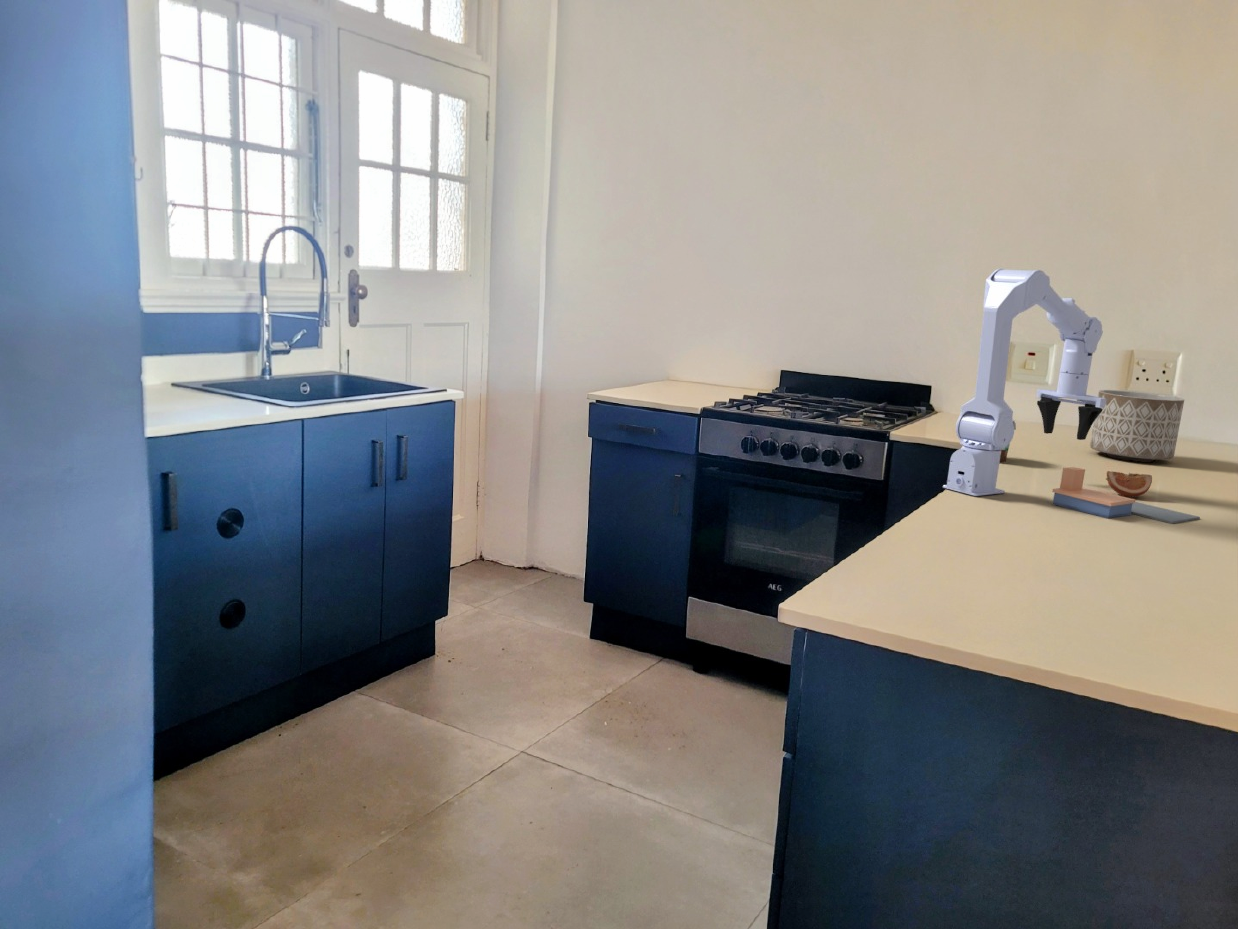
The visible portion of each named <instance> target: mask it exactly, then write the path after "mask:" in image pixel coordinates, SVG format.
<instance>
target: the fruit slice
mask: <svg viewBox="0 0 1238 929" xmlns="http://www.w3.org/2000/svg"><path fill="white" fill-rule="evenodd" d="M1105 480H1106V481H1107V484H1108V486H1109V487H1110V488H1111V489H1112V490H1113V491H1114V492H1115V493H1117V494H1119V496H1122V497H1127V498H1136V497H1141V496H1142V495H1145V493H1147V492H1148V491H1149V489H1150V488H1151V486H1152V483H1153V477H1152V475H1151V474H1143V473H1141V474H1140V473H1130V472H1129V473H1128V474H1126V473H1123V472H1121V471H1109V470H1108V471H1106V478H1105Z"/></svg>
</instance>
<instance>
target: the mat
mask: <svg viewBox="0 0 1238 929" xmlns="http://www.w3.org/2000/svg"><path fill="white" fill-rule="evenodd" d="M1131 515H1135V516H1139V517H1143V518H1147V519H1151V520H1156V521H1160V522H1163V523H1168V524H1171V525H1172V524H1178V523H1184V522H1189V521H1195V520H1196V521H1197V520H1200V519H1201V517H1200V516H1198V515H1193V514H1190V513H1184V512H1180V511H1176V510H1171V509H1168V508H1163V507H1159V506H1154V505H1151V504H1146V503H1142V502H1139V501H1135V503H1133V504H1132V509H1131Z"/></svg>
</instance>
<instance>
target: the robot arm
mask: <svg viewBox="0 0 1238 929" xmlns="http://www.w3.org/2000/svg"><path fill="white" fill-rule="evenodd" d="M1050 284H1051V281H1050V276H1049V275H1047V274H1046V273H1045V272H1044V270H1041V269H1035V270H1029V269H1028V270H1027V269H1026V270H1023V269H1005V268H1004V269H1003V268H997V269H995V270H994V271H992V273H991V274H990V275H989V276H988V277H987V278H986V279H985V286H984V296H983V305H982V307H983V316H982V326H981V335H980V343H979V353H978V363H977V371H976V382H975V391H974V397H973V398H971V399H970V400H969V401H967V402H965V403H964V404H962V405H961V407H960V413H959V415H958V418H957V420H956V423H955V433H956V436H957V438H958V439H959V440H960V441H959V444H960V445H962V446H961V448H959V449H957V450H956V451H954V452H953V453H952V454H951V456H950V460H949V466H948V472H947V480H946V484H943V485H942V488H943V489H947V490H952V491H955V492H958V493H963V494H967V495H970V496H975V497H979V496H980V497H981V496H988V495H996V494H1004V493H1005V492H1006V491H1005V490H1003V489H1001V488H997V482H998V474H999V468H1000V467H999V466H1000V463H1001V462H1000V455H1001V450H1005V447H1007V446H1008V445H1009V443H1011V442H1012V441H1013V438H1014V434H1015V430H1014V425H1013V420H1014V419H1013V417H1014V416H1013V415H1014V414H1013V413H1014V412H1013V409H1012V408H1011V407H1010V406H1009V404H1008V403H1007V402H1006V401H1005V398H1004V397H1005V389H1006V379H1007V373H1008V361H1009V353H1010V345H1011V337H1012V336H1011V334H1012V328H1013V327H1012V326H1013V320H1014V318H1015V319H1016V317H1017V316H1018V315H1019V314H1021V313H1024V312H1026V311H1027V310H1029V309H1031V308H1032V307H1034V306H1036V305H1037V306H1039V307H1040V308H1042V309H1043V310H1044V311H1046V318H1047V320H1048V322H1050V324H1052V325H1053V326H1054V327H1055V328H1056V329H1057V331H1058V332H1059V337H1060V340H1061V341H1062V342H1064V343H1063V350H1062V355H1061V361H1060V368H1059V375H1058V379H1057V380H1058V382H1057V388H1056V390H1052V389H1044V388H1041V389H1039V388H1038V389H1037V390H1036V399H1039V400H1037V401H1036V404H1037V407H1038V409H1039V411H1040V412H1039V413H1040V415H1041V419H1042V425H1043V434H1053V431H1054V428H1055V421H1056V417H1057V413H1058V412H1059V411H1058V410H1059V408H1060V406H1061V403H1062V402H1063V403H1070V404H1075V405H1078V406H1077V407H1078V409H1077V410H1078V426H1077V433H1076V440H1077V441H1078V440H1079V441H1082V440H1084V441H1085V440H1086V438H1087V436H1088V434H1089V432H1090V429H1091V427H1093V424H1094V421H1095V419H1096V418H1097V417H1098V416H1099V414H1100V413H1101V412H1102V408H1105V404H1106V398H1100V397H1098V396H1093V395H1089V394H1087V390H1088V385H1089V379H1090V372H1091V366H1092V362H1093V353H1096V351H1097V347H1098V343H1099V342H1100V340H1101V338H1102V336H1103V332H1104V331H1103V325H1102V322H1101V321H1100V320H1099V319H1098V318H1097V317H1095V316H1089V315H1088V314H1087V313H1086V311H1085V310H1084V309H1083V308H1082V309H1081V308H1080V306H1078V304H1076V300H1075V299H1074V298H1072V297H1071V298H1070V297H1066V298H1065V297H1063V298H1061V296H1060V295H1059V294H1058V293H1057V292H1056V290H1054V288H1053V287H1052V286H1051V285H1050ZM1081 405H1082V406H1081ZM1009 446H1010V445H1009Z"/></svg>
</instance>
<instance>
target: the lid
mask: <svg viewBox="0 0 1238 929" xmlns="http://www.w3.org/2000/svg"><path fill="white" fill-rule="evenodd" d="M1085 473H1086V469H1085V468H1080V467H1075V466H1069V467H1063V468H1062V473H1061V478H1060V484H1059V485H1060V486H1059V488H1056V487H1055V488H1052V491H1051V492H1052V493H1059V494H1063V495H1067V496H1071V497H1075V498H1079V499H1083V500H1087V501H1092V502H1096V503H1100V504H1104V505H1108V506H1116V505H1123V504H1130V503H1135V502H1137V501H1136V499H1135V498H1132V497H1125V496H1122V495H1117V494H1113V493H1109V492H1104V491H1101V490H1096V489H1091V488H1087V487H1083V485H1084V479H1085V475H1086V474H1085Z"/></svg>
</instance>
